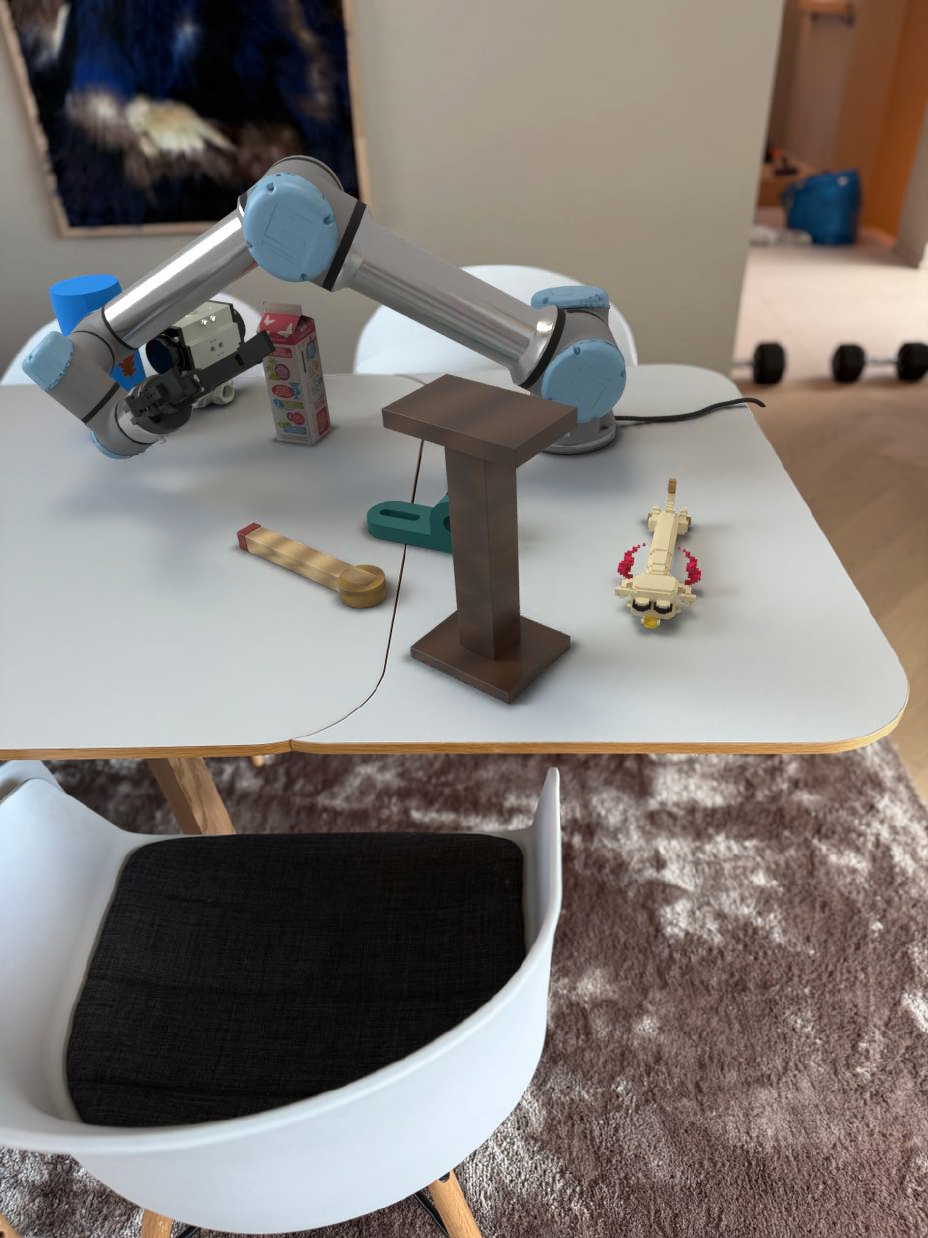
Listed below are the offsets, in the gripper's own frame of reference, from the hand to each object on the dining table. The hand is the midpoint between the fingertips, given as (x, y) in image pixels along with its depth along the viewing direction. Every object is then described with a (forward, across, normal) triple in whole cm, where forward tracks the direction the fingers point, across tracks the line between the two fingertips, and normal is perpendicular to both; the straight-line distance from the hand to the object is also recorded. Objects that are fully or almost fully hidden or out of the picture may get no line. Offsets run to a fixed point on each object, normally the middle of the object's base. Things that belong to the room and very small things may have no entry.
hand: (225, 358), depth 108 cm
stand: (+19, 0, -43) cm, 47 cm away
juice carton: (-33, -28, -12) cm, 45 cm away
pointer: (-7, 0, -28) cm, 28 cm away
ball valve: (-55, -29, 0) cm, 62 cm away
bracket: (0, -16, -32) cm, 35 cm away
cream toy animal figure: (+27, -24, -47) cm, 59 cm away
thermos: (-58, -13, +2) cm, 59 cm away
